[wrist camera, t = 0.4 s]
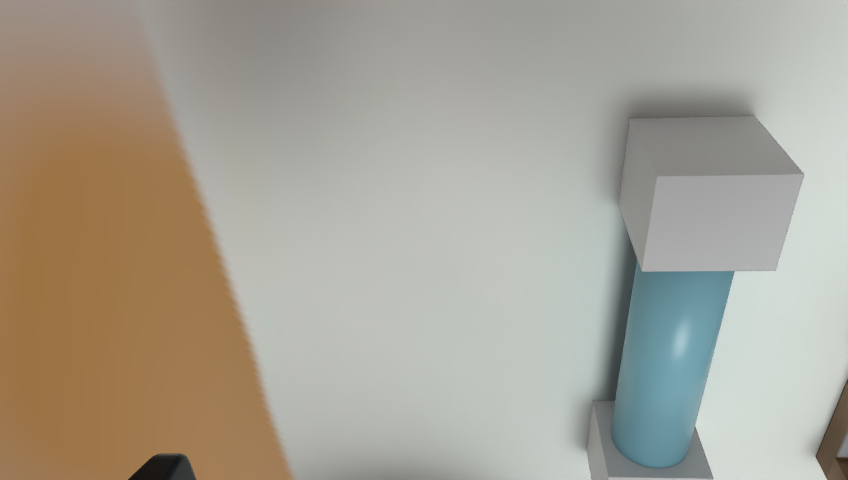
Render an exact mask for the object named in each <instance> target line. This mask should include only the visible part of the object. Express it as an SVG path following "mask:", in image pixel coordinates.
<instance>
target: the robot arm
mask: <svg viewBox="0 0 848 480" xmlns="http://www.w3.org/2000/svg"><path fill="white" fill-rule="evenodd" d="M128 480H196V477H195V475H194V472H193V469H192V467H191V464H190V461H189V459H188V457H187V456H185V455H184V454H180V453H178V454H177V453H175V454H157V455H155V456H153V457H152V458H150V459H149V460H148V461H147V462H146V463H145V464H144V465H143V466H142V467H141V468H140V469H139V470H138V471H137V472H135V473H134V474H133V475H132V476H131V477H130V478H129V479H128Z"/></svg>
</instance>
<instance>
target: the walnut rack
mask: <svg viewBox="0 0 848 480" xmlns="http://www.w3.org/2000/svg"><path fill="white" fill-rule="evenodd" d="M816 459H817V460H818V462H819V464H820V466H821V468H822V470H823V472H824V474H825V476H826V478H827V480H848V382H847V384H846V386H845V389H844V391H843V394H842V396H841V398H840V401H839V403H838V405H837V408H836V410H835V413H834V415H833V417H832V420H831V422H830V425H829V427H828V429H827V432H826V434H825V437H824V439H823V441H822V444H821V446H820V449H819V451H818V453H817V456H816Z"/></svg>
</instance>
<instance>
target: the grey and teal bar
mask: <svg viewBox="0 0 848 480" xmlns="http://www.w3.org/2000/svg"><path fill="white" fill-rule="evenodd" d="M803 177H804V173H803V172H802V171H801V170H800V169H799V167H798V166H797V165H796V164H795V163H794V162H793V160H792V159H791V158H790V157H789V156H788V154H787V153H786V152H785V151H784V150H783V149H782V147H781V146H780V145H779V144H778V143H777V141H776V140H775V139H774V138H773V137H772V136H771V134H770V133H769V132H768V131H767V130H766V128H765V127H764V126H763V125H762V124H761V123H760V121H759V120H758V119H757V118H756V117H755V116H717V117H671V118H630V119H629V127H628V134H627V142H626V150H625V158H624V165H623V173H622V181H621V188H620V196H619V204H618V206H619V208H620V211H621V214H622V217H623V220H624V223H625V225H626V228H627V231H628V234H629V237H630V240H631V242H632V245H633V248H634V251H635V254H636V257H637V263H636V269H635V276H634V282H633V289H632V295H631V301H630V308H629V314H628V321H627V327H626V334H625V340H624V346H623V353H622V359H621V366H620V372H619V379H618V385H617V391H616V398H615V401H593V404H592V412H591V419H590V427H589V435H588V442H587V450H586V451H587V456H588V462H589V468H590V473H591V479H592V480H713V476H712V473H711V470H710V467H709V464H708V461H707V459H706V456H705V453H704V450H703V447H702V444H701V441H700V439H699V436H698V433H697V430H696V427H695V423H696V420H697V416H698V412H699V408H700V404H701V400H702V396H703V392H704V388H705V384H706V381H707V377H708V373H709V369H710V365H711V361H712V357H713V353H714V349H715V345H716V342H717V338H718V334H719V330H720V326H721V322H722V318H723V314H724V310H725V306H726V303H727V299H728V295H729V291H730V287H731V283H732V279H733V275H734V271H776V268H777V264H778V261H779V258H780V254H781V251H782V247H783V244H784V241H785V237H786V234H787V231H788V227H789V224H790V221H791V217H792V214H793V211H794V207H795V204H796V200H797V197H798V194H799V190H800V187H801V184H802V180H803Z"/></svg>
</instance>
